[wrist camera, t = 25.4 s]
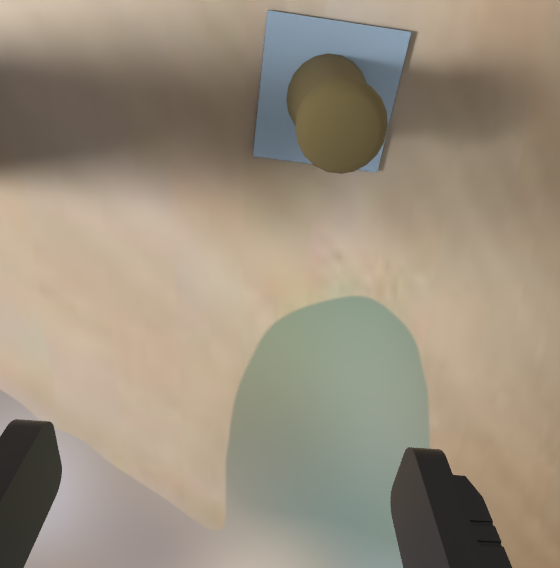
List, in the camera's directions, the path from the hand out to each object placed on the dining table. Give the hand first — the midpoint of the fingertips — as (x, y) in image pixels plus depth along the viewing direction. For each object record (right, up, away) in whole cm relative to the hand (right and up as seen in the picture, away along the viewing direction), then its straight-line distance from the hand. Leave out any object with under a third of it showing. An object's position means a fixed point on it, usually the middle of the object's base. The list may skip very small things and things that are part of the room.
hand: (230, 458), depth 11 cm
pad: (+5, +18, +24) cm, 30 cm away
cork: (+5, +18, +24) cm, 30 cm away
